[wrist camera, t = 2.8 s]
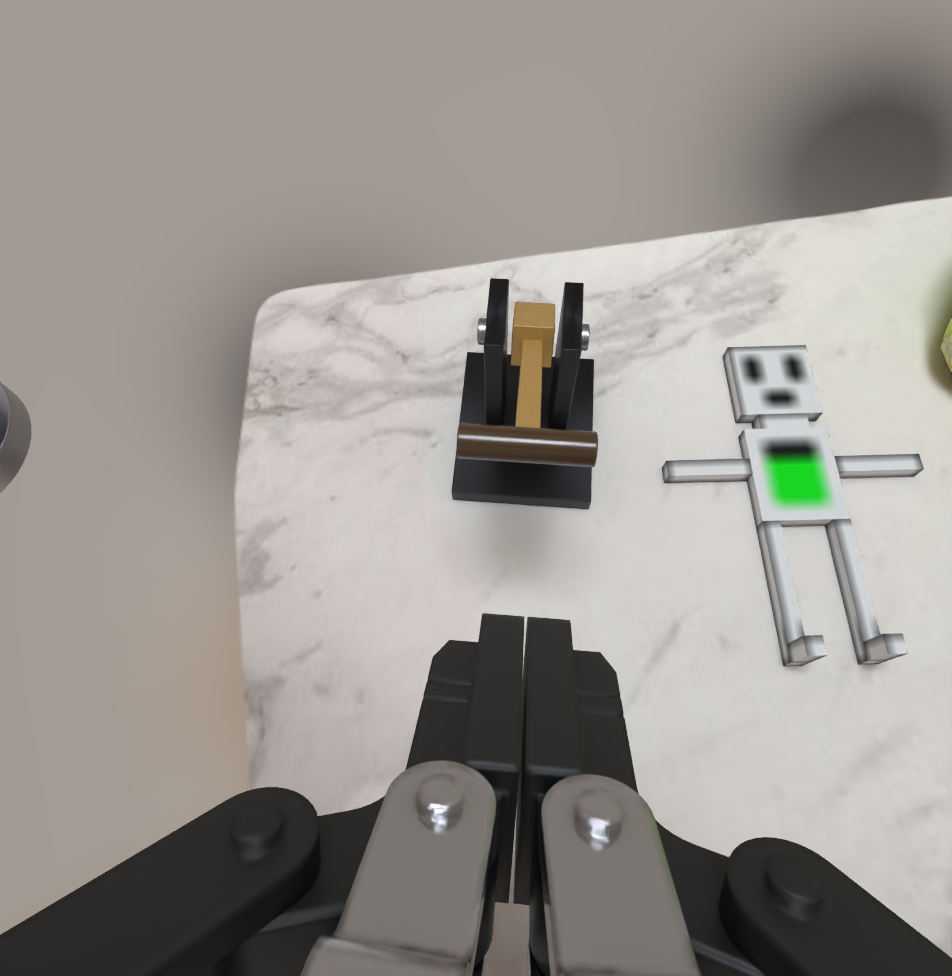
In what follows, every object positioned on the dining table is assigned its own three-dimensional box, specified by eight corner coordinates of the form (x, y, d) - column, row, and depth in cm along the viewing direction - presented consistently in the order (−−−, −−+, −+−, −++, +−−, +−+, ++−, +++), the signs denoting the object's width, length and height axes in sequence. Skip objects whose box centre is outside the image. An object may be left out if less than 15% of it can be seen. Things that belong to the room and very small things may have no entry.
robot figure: (971, 661, 40) (876, 351, 49) (1009, 651, 37) (900, 323, 46) (690, 668, 41) (646, 358, 50) (706, 658, 38) (656, 330, 47)
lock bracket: (588, 509, 45) (621, 409, 33) (452, 499, 46) (437, 398, 34) (591, 368, 49) (621, 237, 38) (468, 361, 50) (459, 229, 38)
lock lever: (592, 482, 30) (600, 438, 28) (456, 472, 30) (456, 428, 29) (584, 344, 39) (589, 305, 38) (480, 338, 40) (481, 299, 38)
